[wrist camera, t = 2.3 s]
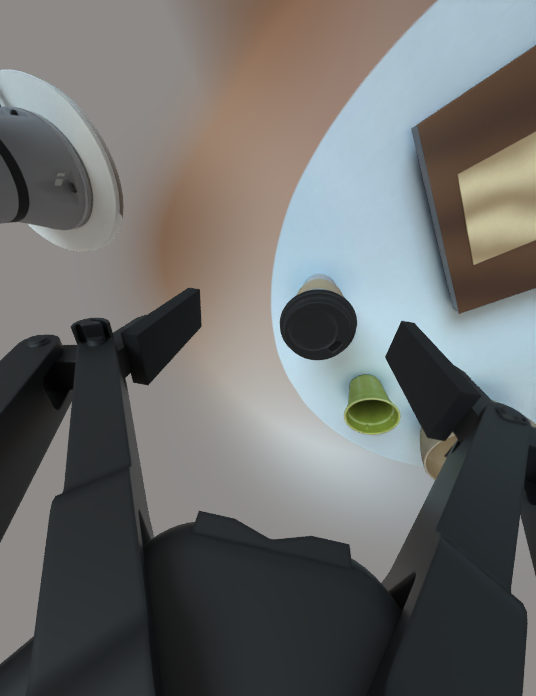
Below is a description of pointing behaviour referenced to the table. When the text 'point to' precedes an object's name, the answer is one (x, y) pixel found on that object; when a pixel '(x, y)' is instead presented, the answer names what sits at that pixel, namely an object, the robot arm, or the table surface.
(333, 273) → the table surface
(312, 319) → the coffee cup
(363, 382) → the plant pot
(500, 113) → the wooden serving stand
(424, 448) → the beige round bowl
